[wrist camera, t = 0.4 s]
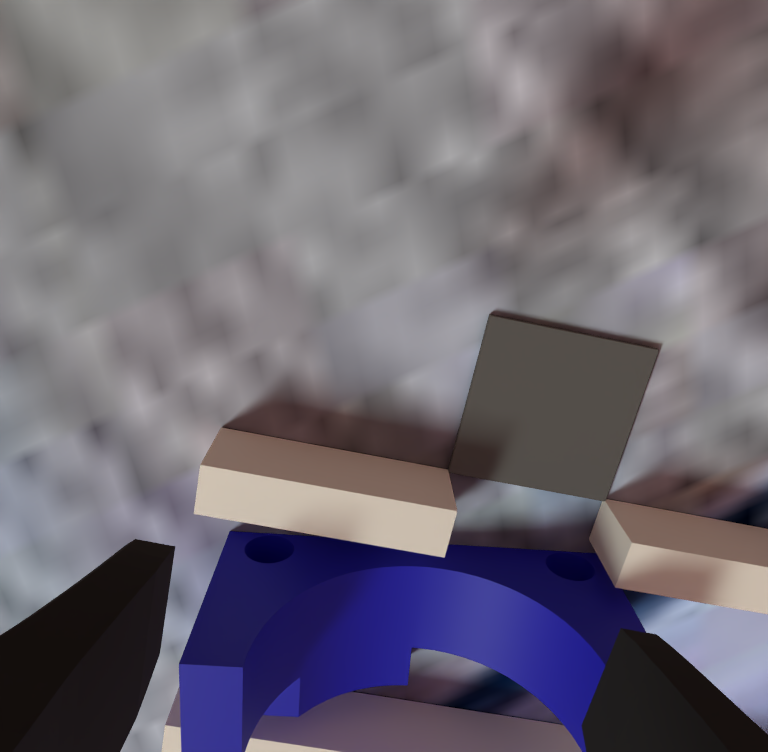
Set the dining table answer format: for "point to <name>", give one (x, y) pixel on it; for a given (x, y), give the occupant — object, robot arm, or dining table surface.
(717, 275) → the dining table surface
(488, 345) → the mat
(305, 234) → the dining table surface
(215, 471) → the lane
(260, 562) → the cable clip
